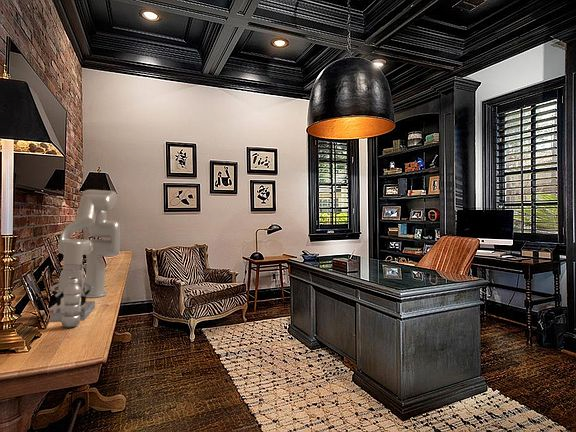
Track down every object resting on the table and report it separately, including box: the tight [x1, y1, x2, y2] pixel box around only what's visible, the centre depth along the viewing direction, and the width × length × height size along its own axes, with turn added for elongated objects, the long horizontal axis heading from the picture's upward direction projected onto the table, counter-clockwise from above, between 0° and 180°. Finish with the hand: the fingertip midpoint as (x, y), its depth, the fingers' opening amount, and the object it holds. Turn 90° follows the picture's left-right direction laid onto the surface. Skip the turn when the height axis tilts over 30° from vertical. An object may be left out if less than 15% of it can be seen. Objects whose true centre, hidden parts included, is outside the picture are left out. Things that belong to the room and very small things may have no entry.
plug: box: [60, 296, 82, 310], centre depth 165 cm, size 11×6×8 cm, turn 17°
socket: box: [48, 300, 96, 322], centre depth 164 cm, size 20×16×4 cm
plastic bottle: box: [60, 278, 82, 329], centre depth 147 cm, size 6×7×20 cm
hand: (70, 304), depth 164 cm, fingers open, 9 cm apart
